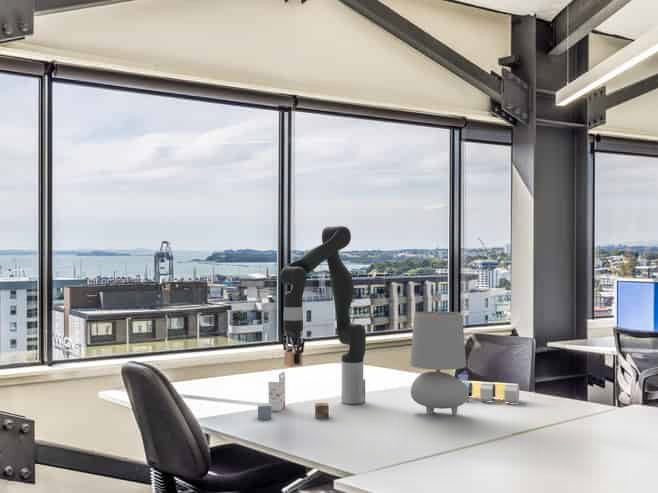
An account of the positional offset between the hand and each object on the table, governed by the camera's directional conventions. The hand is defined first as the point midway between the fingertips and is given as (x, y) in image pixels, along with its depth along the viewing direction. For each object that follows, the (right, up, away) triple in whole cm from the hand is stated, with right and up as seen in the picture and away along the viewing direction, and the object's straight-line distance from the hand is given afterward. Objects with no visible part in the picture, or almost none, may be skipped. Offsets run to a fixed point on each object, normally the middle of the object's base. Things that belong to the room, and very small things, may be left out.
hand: (293, 362), depth 279 cm
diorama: (+82, -22, +32) cm, 90 cm away
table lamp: (+57, -21, +5) cm, 61 cm away
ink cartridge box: (-7, -21, +15) cm, 27 cm away
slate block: (-11, -21, -1) cm, 24 cm away
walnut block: (+11, -21, 0) cm, 24 cm away
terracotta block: (0, -1, 0) cm, 1 cm away
